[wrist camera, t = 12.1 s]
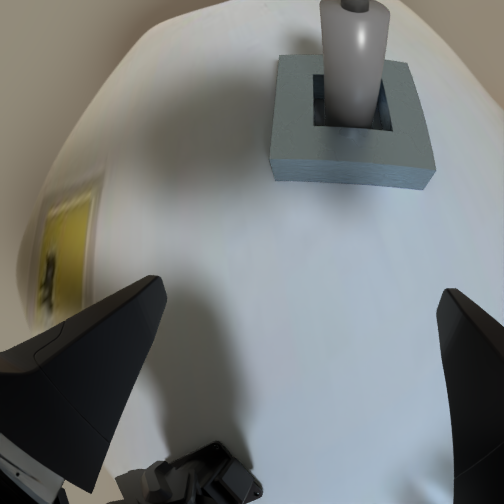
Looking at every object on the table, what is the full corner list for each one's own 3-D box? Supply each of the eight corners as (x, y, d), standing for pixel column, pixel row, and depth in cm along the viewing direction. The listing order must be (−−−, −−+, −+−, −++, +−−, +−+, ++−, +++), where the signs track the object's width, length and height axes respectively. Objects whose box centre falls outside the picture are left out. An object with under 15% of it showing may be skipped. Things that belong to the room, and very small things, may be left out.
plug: (348, 151, 24) (361, 1, 10) (314, 122, 25) (301, -20, 11) (380, 128, 24) (406, -10, 10) (347, 101, 25) (349, -32, 11)
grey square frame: (422, 190, 22) (436, 170, 18) (275, 180, 25) (269, 159, 21) (401, 85, 25) (407, 63, 21) (283, 78, 28) (279, 55, 24)
